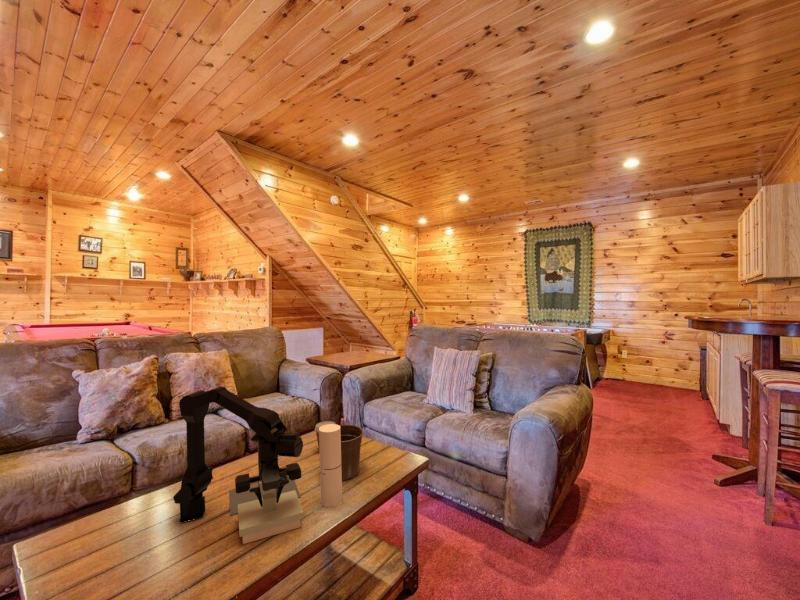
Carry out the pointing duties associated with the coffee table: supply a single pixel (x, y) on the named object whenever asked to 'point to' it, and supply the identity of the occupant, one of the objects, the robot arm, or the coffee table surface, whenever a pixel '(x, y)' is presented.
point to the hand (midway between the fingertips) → (269, 504)
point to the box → (271, 531)
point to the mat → (251, 496)
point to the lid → (269, 512)
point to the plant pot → (350, 450)
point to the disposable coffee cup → (320, 426)
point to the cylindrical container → (330, 465)
